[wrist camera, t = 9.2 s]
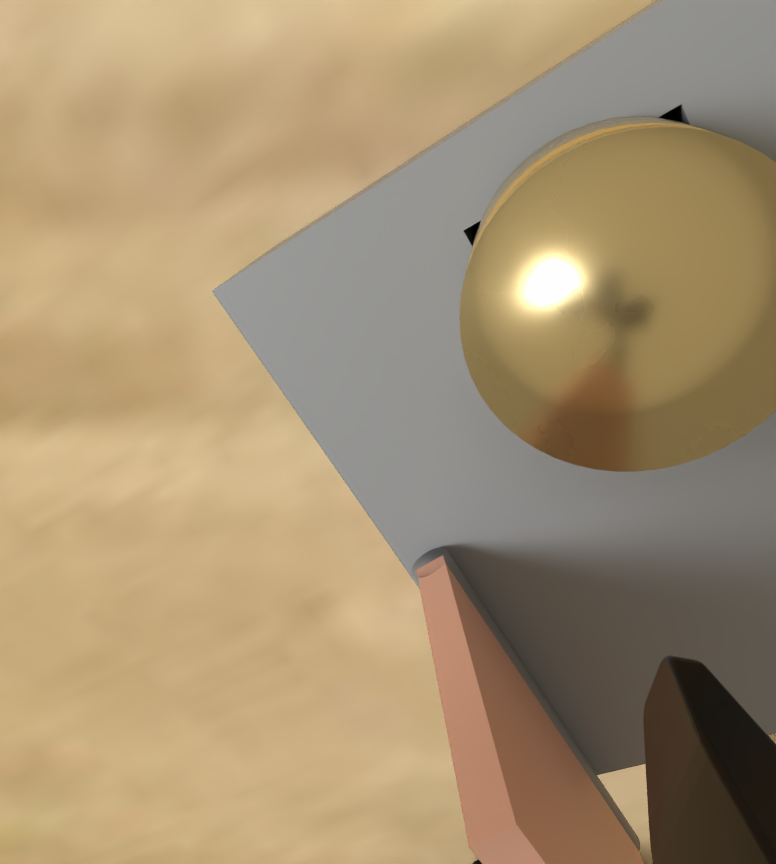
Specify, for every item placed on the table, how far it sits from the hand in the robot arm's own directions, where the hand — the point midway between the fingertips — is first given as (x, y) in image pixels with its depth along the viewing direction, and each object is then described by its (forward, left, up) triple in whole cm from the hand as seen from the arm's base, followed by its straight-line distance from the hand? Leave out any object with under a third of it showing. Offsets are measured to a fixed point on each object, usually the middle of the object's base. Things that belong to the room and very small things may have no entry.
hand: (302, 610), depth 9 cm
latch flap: (-11, +2, -8) cm, 13 cm away
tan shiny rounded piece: (0, -5, -13) cm, 14 cm away
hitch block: (-5, -4, -13) cm, 14 cm away
